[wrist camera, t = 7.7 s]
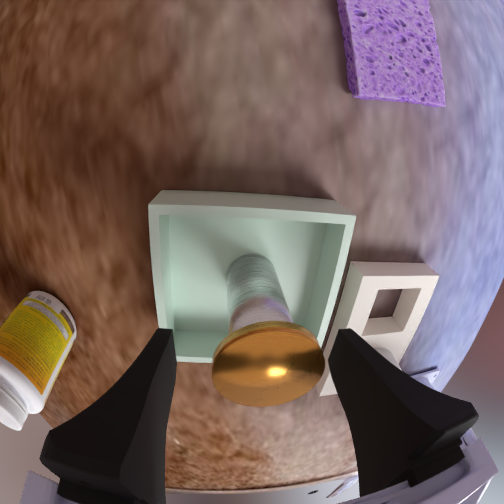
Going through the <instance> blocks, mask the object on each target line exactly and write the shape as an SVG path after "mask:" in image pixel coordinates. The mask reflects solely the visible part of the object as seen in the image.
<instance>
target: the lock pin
mask: <svg viewBox="0 0 504 504" xmlns="http://www.w3.org/2000/svg"><path fill="white" fill-rule="evenodd" d="M226 278H227V309H228V334H229V335H228V336H227V337H225V338H224V339H223V340H222V341H221V342H220V343H219V345H218V346H217V347H216V349H215V351H214V354H213V358H212V380H213V384H214V386H215V388H216V390H217V391H218V392H219V393H220V394H221V395H222V396H223V397H225V398H226V399H228V400H230V401H232V402H235V403H238V404H241V405H246V406H254V407H265V406H274V405H279V404H283V403H286V402H289V401H292V400H294V399H296V398H298V397H300V396H302V395H304V394H305V393H307V392H308V391H309V390H311V389H312V388H313V387H314V386H315V385H316V384H317V383H318V382H319V380H320V379H321V377H322V375H323V373H324V370H325V358H324V355H323V353H322V350H321V348H320V345H319V343H318V340H317V339H316V337H315V336H314V335H313V333H312V332H310V331H309V330H308V329H306V328H304V327H303V326H300V325H298V324H295V323H293V320H292V317H291V314H290V311H289V308H288V305H287V303H286V300H285V297H284V294H283V291H282V288H281V285H280V282H279V279H278V276H277V273H276V271H275V268H274V266H273V264H272V263H271V261H270V260H268V259H267V258H266V257H264V256H261V255H258V254H247V255H243V256H241V257H239V258H237V259H236V260H234V261H233V262H232V263H231V265H230V266H229V268H228V270H227V275H226Z"/></svg>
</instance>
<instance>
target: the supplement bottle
mask: <svg viewBox="0 0 504 504" xmlns="http://www.w3.org/2000/svg"><path fill="white" fill-rule="evenodd" d="M75 338H76V325H75V322H74V319H73V317H72V315H71V313H70V312H69V310H68V309H67V308H66V307H65V305H64V304H63V303H62V302H60V301H59V300H58V299H57V298H55V297H54V296H52V295H50V294H48V293H46V292H43V291H33V292H30V293H28V294H27V295H26V296H25V297H24V298H23V299H22V300H21V302H20V303H19V304H18V305H17V306H16V308H15V309H14V310H13V311H12V313H11V314H10V315H9V316H8V318H7V319H6V320H5V321H4V323H3V324H2V325H1V327H0V422H1V423H3V424H4V425H6V426H8V427H10V428H12V429H14V430H21V429H22V427H23V424H24V422H25V420H26V419H27V416H28V413H31V414H36V413H39V412H40V411H41V410H42V409H43V407H44V405H45V402H46V400H47V398H48V396H49V393H50V391H51V389H52V386H53V384H54V382H55V380H56V378H57V376H58V373H59V371H60V369H61V367H62V365H63V363H64V361H65V359H66V357H67V355H68V353H69V351H70V349H71V347H72V345H73V343H74V341H75Z"/></svg>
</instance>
